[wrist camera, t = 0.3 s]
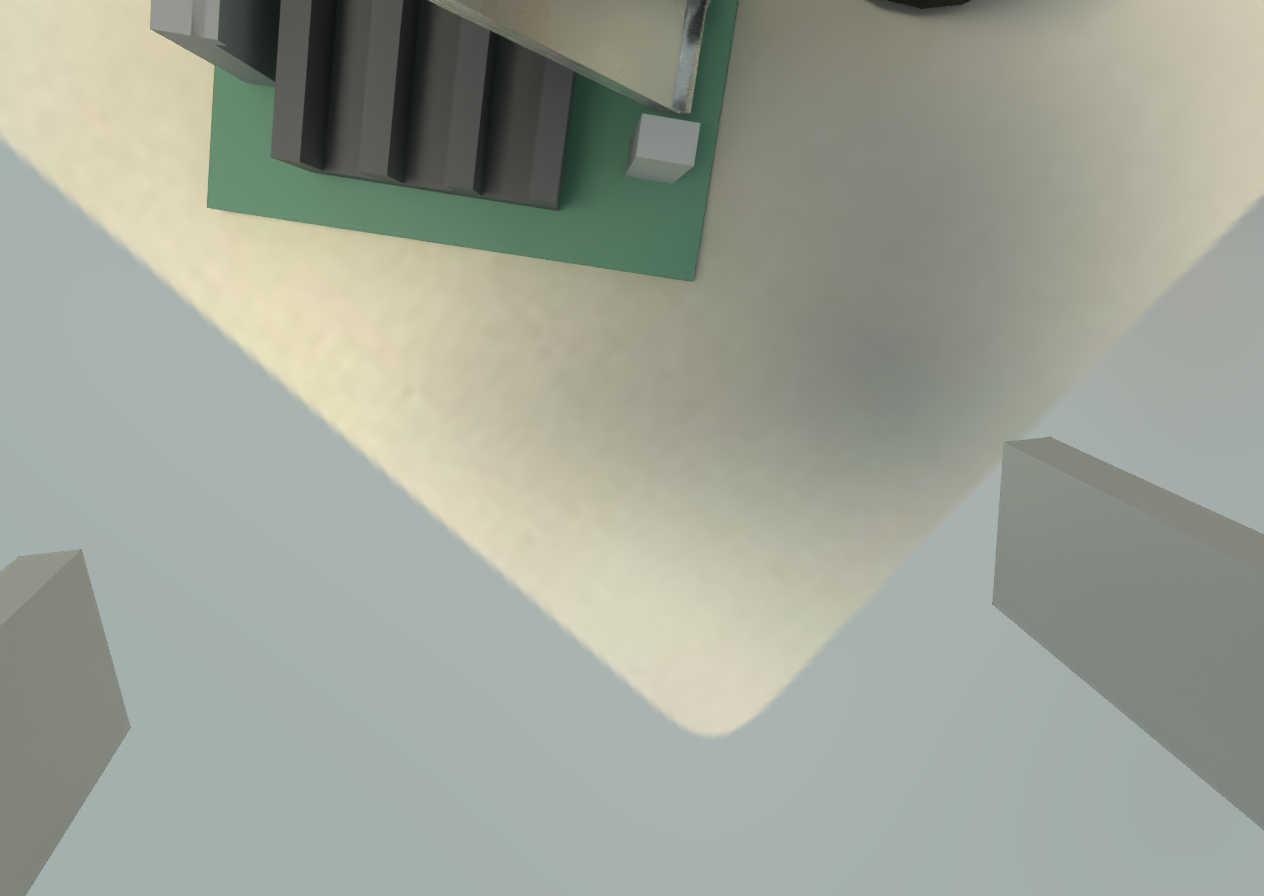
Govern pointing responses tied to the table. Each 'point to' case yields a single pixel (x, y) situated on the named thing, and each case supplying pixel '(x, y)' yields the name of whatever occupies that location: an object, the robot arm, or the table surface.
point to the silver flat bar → (607, 41)
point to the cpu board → (495, 228)
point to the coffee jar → (930, 3)
